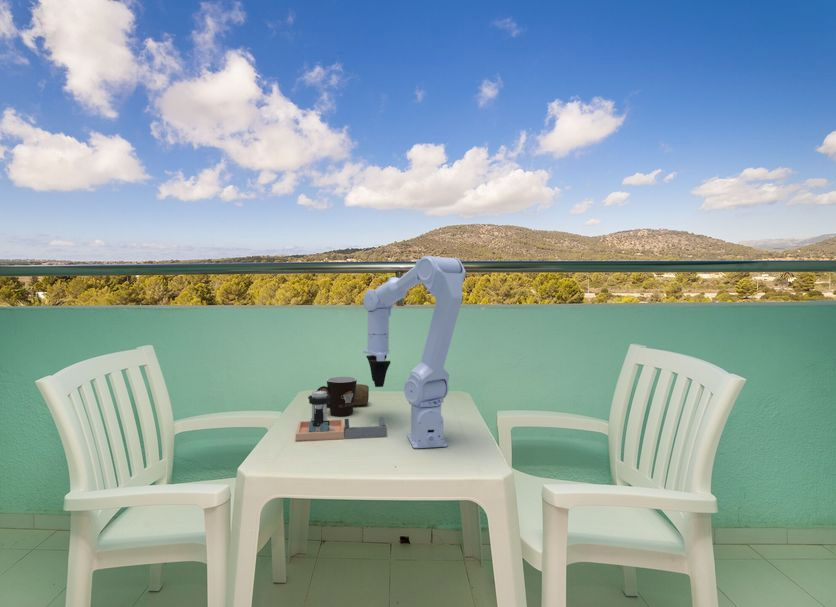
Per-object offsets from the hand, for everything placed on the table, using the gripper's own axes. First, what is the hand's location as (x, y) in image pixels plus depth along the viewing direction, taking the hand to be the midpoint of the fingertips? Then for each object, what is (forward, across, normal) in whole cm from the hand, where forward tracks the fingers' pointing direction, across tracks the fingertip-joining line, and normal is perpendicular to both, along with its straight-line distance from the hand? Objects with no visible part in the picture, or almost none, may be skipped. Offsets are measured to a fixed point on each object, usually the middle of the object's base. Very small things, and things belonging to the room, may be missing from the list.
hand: (377, 383), depth 122 cm
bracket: (+10, +8, -4) cm, 14 cm away
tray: (+10, +8, -15) cm, 20 cm away
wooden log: (+11, -18, -8) cm, 23 cm away
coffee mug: (+11, -9, -11) cm, 18 cm away
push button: (+10, +8, -15) cm, 20 cm away
